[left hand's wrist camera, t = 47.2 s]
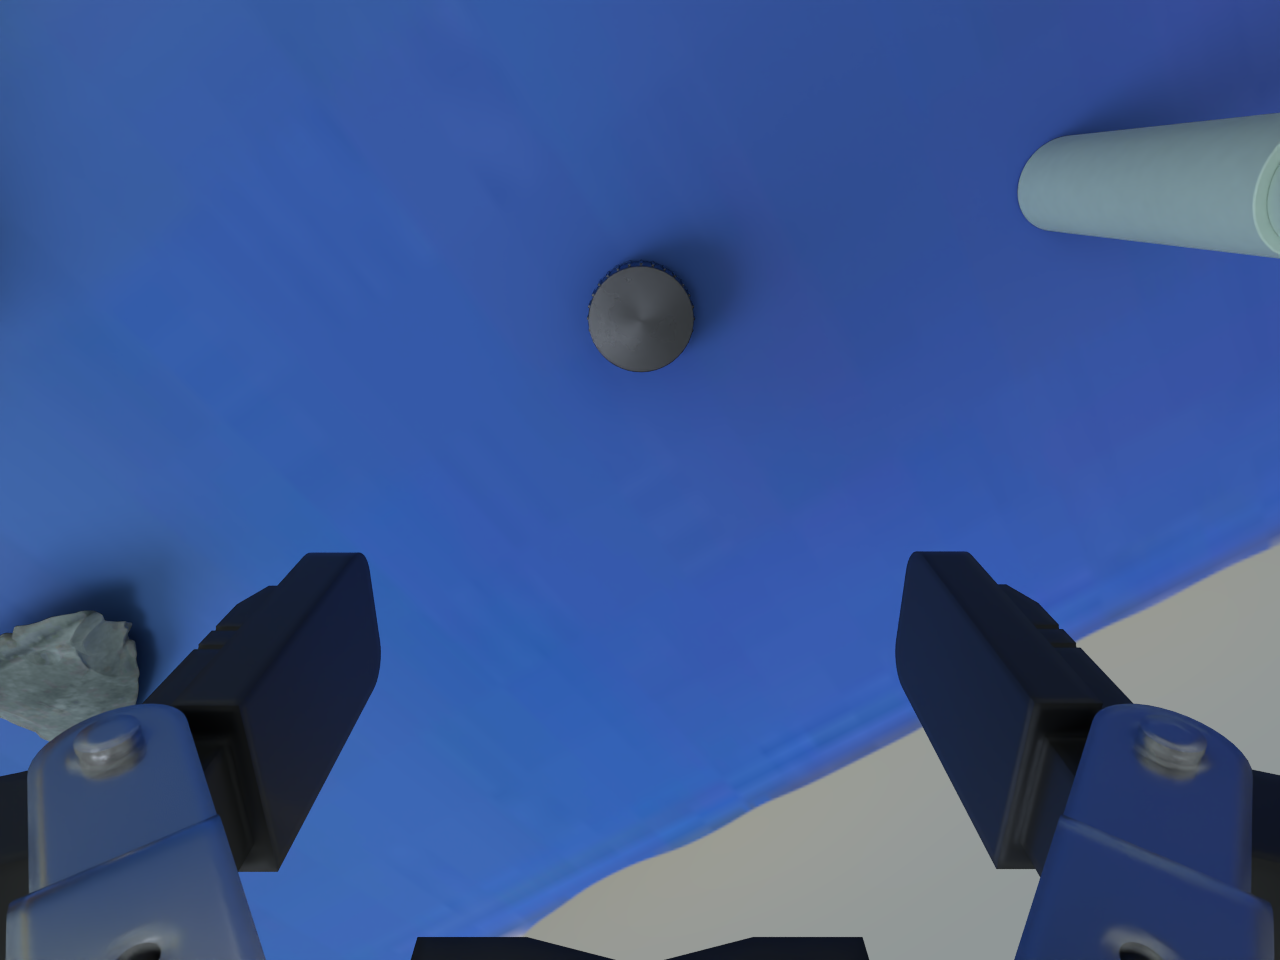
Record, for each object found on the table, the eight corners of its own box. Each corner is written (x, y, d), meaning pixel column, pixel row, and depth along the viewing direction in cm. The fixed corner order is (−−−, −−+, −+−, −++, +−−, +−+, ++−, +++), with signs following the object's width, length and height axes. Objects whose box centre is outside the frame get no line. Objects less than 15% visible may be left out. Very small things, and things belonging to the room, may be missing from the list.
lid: (699, 266, 36) (702, 271, 34) (684, 368, 37) (687, 379, 35) (594, 253, 35) (592, 258, 33) (585, 357, 37) (582, 367, 35)
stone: (222, 655, 45) (63, 554, 39) (196, 715, 41) (20, 614, 36) (98, 717, 47) (-66, 631, 42) (66, 777, 44) (-117, 692, 39)
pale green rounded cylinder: (1050, 249, 35) (1354, 300, 20) (999, 184, 34) (1280, 186, 19) (1125, 184, 34) (1504, 186, 19) (1075, 114, 33) (1435, 59, 18)
